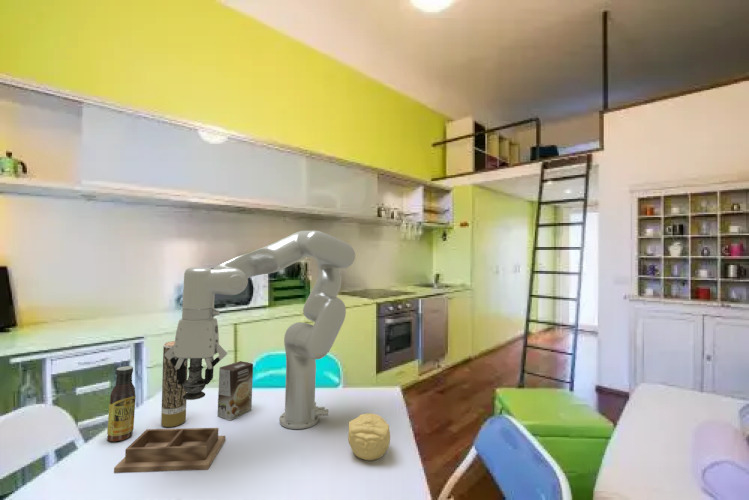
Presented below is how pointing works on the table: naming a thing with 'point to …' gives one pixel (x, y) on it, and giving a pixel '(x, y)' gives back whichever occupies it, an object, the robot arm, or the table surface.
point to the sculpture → (369, 436)
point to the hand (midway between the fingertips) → (194, 382)
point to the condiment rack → (172, 450)
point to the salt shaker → (194, 381)
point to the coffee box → (235, 389)
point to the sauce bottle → (122, 406)
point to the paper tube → (172, 393)
